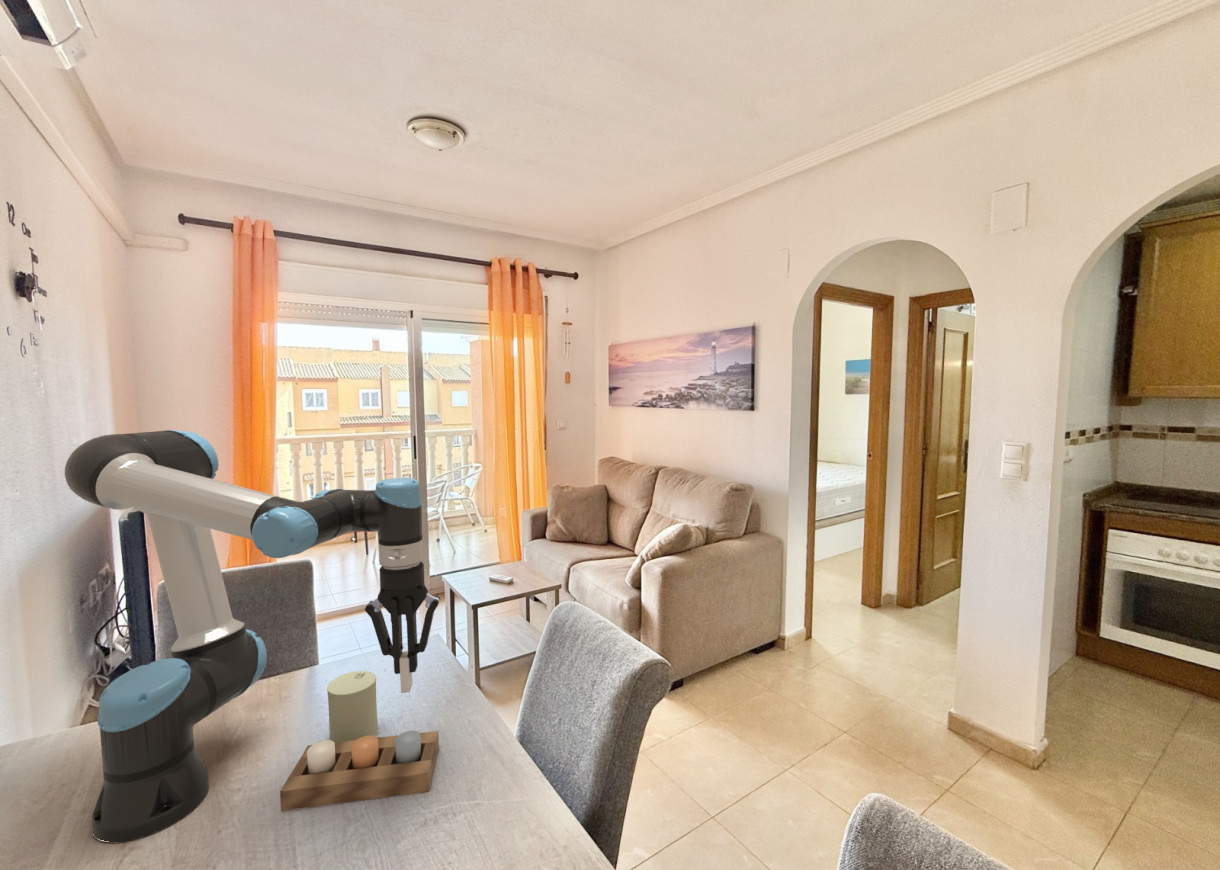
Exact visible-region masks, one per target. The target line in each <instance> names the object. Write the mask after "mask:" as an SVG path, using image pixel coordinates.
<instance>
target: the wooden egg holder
mask: <svg viewBox="0 0 1220 870" xmlns="http://www.w3.org/2000/svg"><path fill="white" fill-rule="evenodd" d="M419 733H420V737H421V761H418V762H410V763H401V764H396V750H395V739H396V738H397V737H398V736H399V735H400V734H398V735H397V734H396V735H389V736H388V735H387V736H379V737H378V736H377V738H378V749H379V762H378V765H377V767H368V768H360V769H353V764H352V744H353V743H354V742H355V741H356V740H352V741H343V742H334V743H335V761H336V765H335V767H334V769H333V771H332V772H327V773H319V774H310V775H308V761H307V750H308V749H309V747H311V746H312V745H313V744H309V745H307V747H306V748H304V751H303V752H302V754H301V756H300V758H299V759H298V761H297V763H296V764H295V766H294V768H293V769H292V771H291V772H290V774H289V776H288V778H287V779H286V780H285V783H284V784H283V786H282V787H281V789H280V791H279V797H280V799H279V801H280V811H281V812H283V811H284V812H285V811H291V810H298V809H299V810H300V809H307V808H313V807H322V806H328V805H329V806H331V805H337V804H344V803H351V802H353V803H354V802H359V801H367V800H368V801H369V800H376V799H382V798H383V799H384V798H391V797H398V796H399V797H400V796H405V795H413V794H422V793H429V791H430V789H431V784H432V779H433V775H434V770H435V766H436V762H437V759H438V758H437V757H438V754H439V748H440V742H439V741H440V740H439V739H440V737H439V735H440V734H439V730H434V731H433V730H432V731H425V732H424V731H423V732H419Z"/></svg>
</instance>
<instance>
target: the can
mask: <svg viewBox="0 0 1220 870" xmlns="http://www.w3.org/2000/svg"><path fill="white" fill-rule="evenodd" d="M326 691H327V701H328V702H327V703H328V722H329V727H328V728H329V739H328V740H331V741H333V742H343V741H352V740H357V739H359V738H361V737H364V736H368V735H373V736H376V737H377V735H378V733H379V725H378V708H377V707H378V706H377V703H378V702H377V675H376V674H375V673H374V672H372V671H367V670H359V671H358V670H356V671H351V672H348V673H345V674H342V675H340V676H337V677H336V678H334V679H333V680H331V681H330V682H329V683H328V685H327V687H326Z"/></svg>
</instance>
